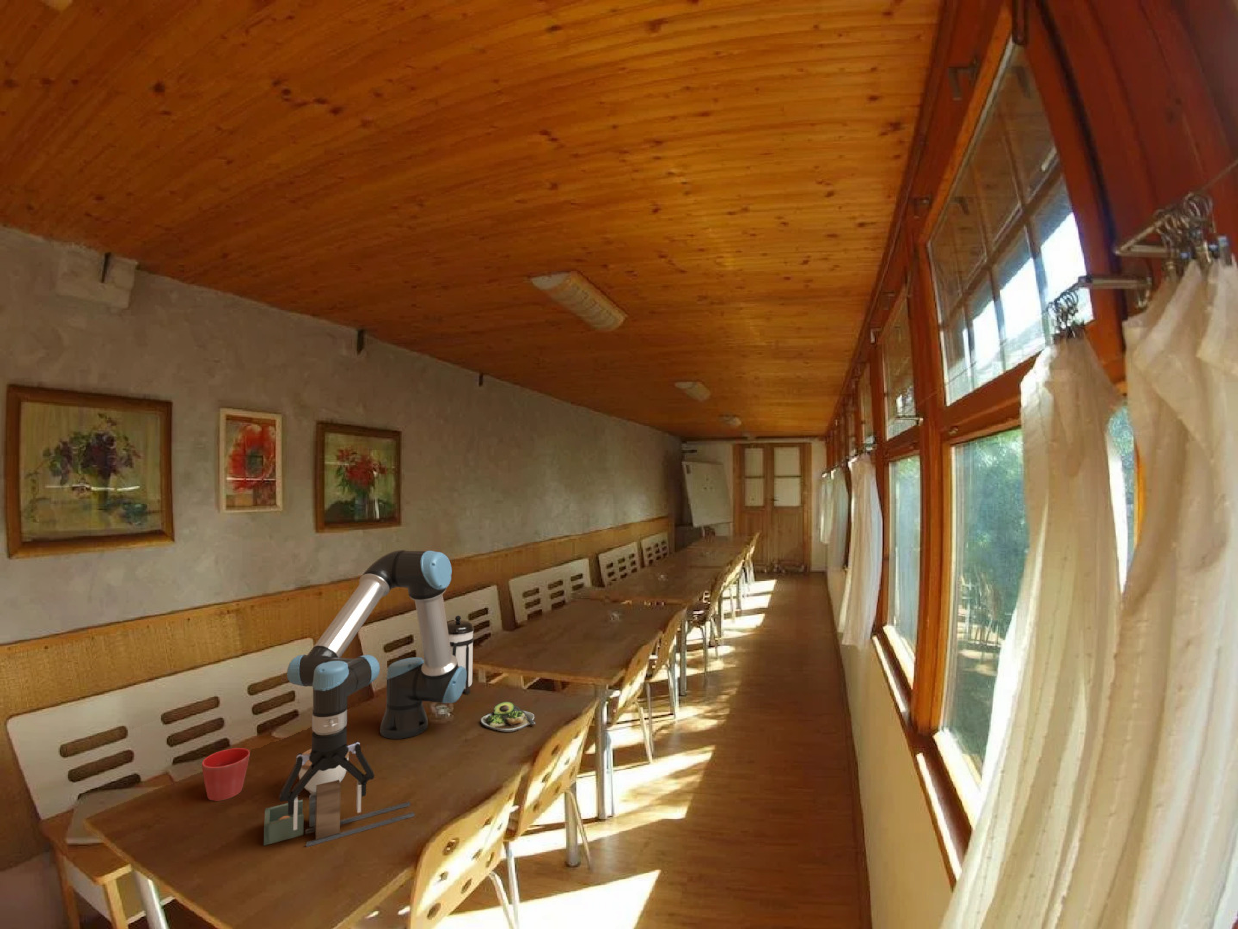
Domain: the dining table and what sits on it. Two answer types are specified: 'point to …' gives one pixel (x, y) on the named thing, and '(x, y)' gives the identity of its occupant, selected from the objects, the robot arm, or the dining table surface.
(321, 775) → the lidded bowl
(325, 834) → the brown boxy piece
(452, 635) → the coffee press
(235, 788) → the flower pot
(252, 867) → the dining table surface
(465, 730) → the dining table surface
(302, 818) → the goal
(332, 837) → the guide rails
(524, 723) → the avocado toast plate
